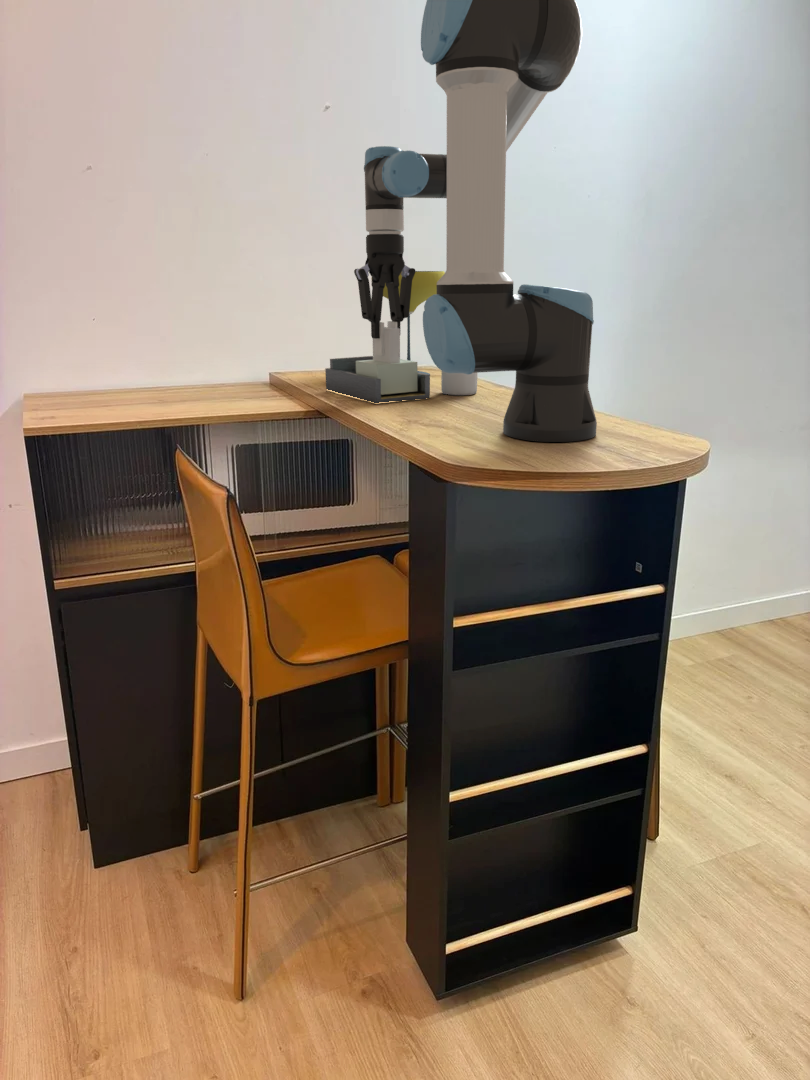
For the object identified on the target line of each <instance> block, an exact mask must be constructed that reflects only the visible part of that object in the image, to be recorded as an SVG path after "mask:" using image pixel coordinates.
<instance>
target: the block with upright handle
mask: <svg viewBox="0 0 810 1080" xmlns="http://www.w3.org/2000/svg"><path fill="white" fill-rule="evenodd" d="M384 352H385V355H376V354H375V338H372V356H373V360H362V361H356V374H360V375H365V376H369V377H374V378H379V379H381V395H383V394H393V393H404V392H414V391H417V371H418V361H415V360H414V361H413V360H411V361H409V360H407V359H403V358H401V328H400V329H399V328H391V327H387V326H384Z"/></svg>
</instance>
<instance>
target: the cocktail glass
mask: <svg viewBox="0 0 810 1080" xmlns="http://www.w3.org/2000/svg"><path fill="white" fill-rule="evenodd" d="M415 271H416V272H415V275H414V277H413V280H412V288H411V299H410V309H409V316H408V317H407V318H406V319H407V320H406V321H407V326H406V327H407V331H406V332H407V335H406V336H407V339H406V341H407V342H406V343H407V345H406V346H407V349H406V350H407V354H406V355H407V356H406V360H409V361H412V360H411V315H413V313H414V312H415V311H416V309H418V307H419V306H420V305H421V304H423V303H425V302H426V300H427V299H428V298H429V297H431V296H432V295H434V294H437V282H438V281H439V279H440V278H441V277H442V276H443V275H444V274H445V272H446V271H444V270H443V271H442V270H439V271H438V270H415ZM401 273H402V272H401ZM401 273H400V275H399V287H398V288H399V297H400V286H401V278H402V275H401ZM370 279H371V280H370V281H372V277H371V278H370ZM383 298H386V299H387V300H389V299H388V290H387V287H386V283H385V287H384V289H383ZM417 372H419V373H424V374H429V375H430V376H431V373H430V372H429V373H428V372H426V371H419V370H417Z"/></svg>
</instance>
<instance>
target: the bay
mask: <svg viewBox="0 0 810 1080" xmlns="http://www.w3.org/2000/svg"><path fill="white" fill-rule="evenodd" d="M362 360H373V355H368V356H367V355H366V356H365V355H364V356H353V357H351V356H350V357H338V358H336V357H334V358H329V366H330V367H328V368H327V367H326V368H325V369H324V370H325V390H326V389H328V390H332V391H335V392H338V393H342V394H346V395H350V396H353V397H357V398H360V399H364V400H367V401H371V402H374V403H379V402H389V401H402V400H415V399H424V400H427V399H426V398H430V399H431V374H430V373H429V374H430V375H429V374H424V373H419V372H417V391H414V392H404V393H393V394H383V395H381V379H379V378H374V377H369V376H365V375H360V374H356V361H362ZM415 401H416V400H415Z"/></svg>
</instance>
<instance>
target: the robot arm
mask: <svg viewBox="0 0 810 1080" xmlns="http://www.w3.org/2000/svg"><path fill="white" fill-rule="evenodd" d="M582 25H583V23H582V15H581V11H580V9H579V6H578V3H577V1H576V0H426V1H425V6H424V10H423V15H422V22H421V29H420V51H422V54H421V55H422V58H423V60H424V61H425V62H426V63H428V64H429V65H431V66H434V65H435V82H436V83H437V85H438V86H439V87H440V88H441V89H442V91H444V92H445V94H446V154H440V153H438V154H433V153H418V152H416V151H415V150H403V149H401V148H400V147H397V146H390V145H389V146H388V145H387V146H385V145H384V146H383V145H381V146H371V147H368V148H367V149H366V150H365V152H364V166H363V172H364V199H365V204H364V205H365V231H366V232H367V233H368V234H367V235H366V236H365V253H366V260H365V264H364V265H363V266H361V267H359V268H355V269H354V271H353V273H354V276H355V277H356V280H357V284H358V293H359V302H360V308H361V309H360V310H361V317H362V319H364V320H368V322H370V332H371V333H370V336H371V338H372V339H373V338H375V354H376V355H385V352H384V327H385V322H383V321H382V322H381V319H382V310H383V309H382V308H383V300H384V299H383V298H384V296H383V289H384V287H385V283H386V287H387V290H388V299H387V300H388V308H389V314H390V315H389V316H390V321H386V323H387V324H386V325H387V326H386V327H391V328H399V329H400V330H401V322H403V321H404V319H407V317H408V316H409V309H410V299H411V288H412V280H413V277H414V275H415V272H416V271H417V270H416V269H415V268H413V267H409V266H407V265H406V263H405V262H406V261H404V258H403V257H404V251H405V248H404V245H405V244H404V243H405V242H404V241H405V240H404V239H405V237H404V236H403V234H402V232H404V231H405V225H404V224H405V222H404V218H405V217H404V199H408V198H409V199H410V198H411V199H412V198H413V199H446V270H445V271H444V272H445V274H444V275H443V276H442V277H441V278H440V279H439V281H438V282H437V294H434V295H432V296H431V297H429V298H428V299H427V300H426V301H424V305H423V308H424V310H423V311H422V327H423V328H422V329H423V336H424V340H425V341H424V342H425V346H426V348H427V352H428V354H429V356H430V358H431V360H432V362H433V363H434V365H435V366H436V367H437V368H438V369H439V370H440V371H441V372H442V371H443V372H446V373H464V374H472V373H477V374H478V373H494V372H495V373H497V372H498V373H499V372H514V371H515V384H514V385H515V386H514V388H513V392H512V395H511V398H510V400H509V403H508V406H507V408H506V412H505V414H504V417H503V423H502V424H503V425H502V427H503V428H502V433H503V434H504V435H505V436H507V437H509V438H513V439H517V440H522V441H523V440H524V441H529V442H530V441H531V442H544V443H545V442H546V443H567V442H578V441H580V442H581V441H585V440H590V439H592V438H594V437H596V435H597V426H598V425H597V422H598V421H597V417H596V413H595V410H594V406H593V402H592V398H591V394H590V391H589V390H590V388H589V379H590V378H589V376H590V362H591V350H592V349H591V347H592V335H593V334H592V333H593V325H594V323H595V321H594V303H593V299H592V296H591V295H590V294H589V293H588V292H586V291H582V290H576V289H571V288H570V289H569V288H563V287H555V286H545V285H536V284H521V285H520V286H519V288H518V290H517V293H514V280H513V279H512V278H511V277H510V276H509V275H508V274H507V273H506V271H505V269H504V267H505V266H504V265H505V262H504V261H505V227H506V226H505V222H506V221H505V219H506V217H505V215H506V214H505V213H506V176H507V175H506V173H507V171H506V170H507V169H506V168H507V167H506V165H507V151H508V150H509V149H510V147H511V145H512V144H513V143H514V142H515V140H516V138H517V137H518V135H519V134H520V133H521V131H523V129H524V127H525V126H526V124H527V123H528V121H529V120H530V119H531V117H532V116H533V114H534V113H535V111H536V110H537V108H538V107H539V106H540V104H541V103H542V101H543V100H544V99H545V98H546V96H547V94H548V93H551V92H554V91H556V90H558V89H560V87H561V86H562V85H563V84H564V81H565V80H566V79H567V78H568V76H569V75H570V73H571V71H572V70H573V67H574V66H575V64H576V63H577V59H578V56H579V53H580V51H581V45H582V37H583V27H582ZM401 272H402V273H401ZM400 273H401V275H402V278H401V286H400V297H399V288H398V287H399V275H400ZM369 276H371V278H372V280H371V286H370V280H369ZM371 287H372V289H371Z"/></svg>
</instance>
